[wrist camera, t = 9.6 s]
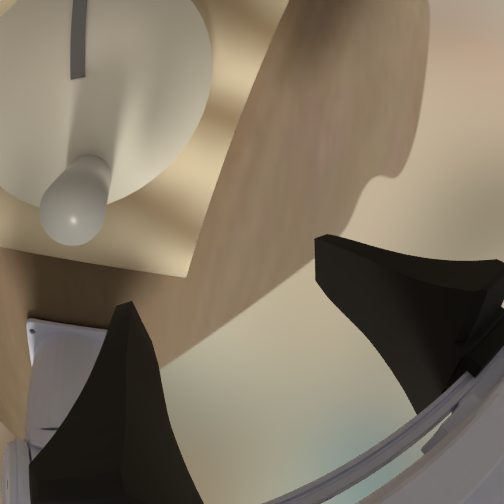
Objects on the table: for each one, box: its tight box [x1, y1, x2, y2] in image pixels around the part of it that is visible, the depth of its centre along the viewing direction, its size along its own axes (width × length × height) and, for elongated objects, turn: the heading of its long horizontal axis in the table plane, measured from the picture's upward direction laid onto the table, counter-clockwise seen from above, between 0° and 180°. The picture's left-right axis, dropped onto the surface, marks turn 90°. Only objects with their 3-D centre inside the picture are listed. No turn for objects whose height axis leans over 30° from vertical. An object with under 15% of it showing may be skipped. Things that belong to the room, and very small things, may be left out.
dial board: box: [0, 0, 289, 278], centre depth 12 cm, size 22×18×2 cm
